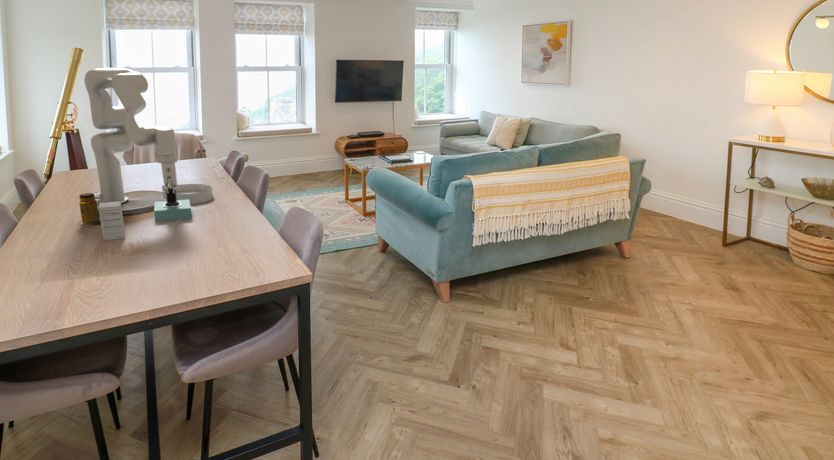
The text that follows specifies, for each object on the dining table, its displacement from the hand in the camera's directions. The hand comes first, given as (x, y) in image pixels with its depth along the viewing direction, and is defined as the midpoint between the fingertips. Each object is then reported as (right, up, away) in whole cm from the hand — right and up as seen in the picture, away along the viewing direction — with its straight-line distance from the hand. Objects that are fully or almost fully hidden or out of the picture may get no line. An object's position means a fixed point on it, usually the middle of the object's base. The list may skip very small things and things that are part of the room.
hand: (171, 200), depth 249 cm
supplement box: (-10, -15, -28) cm, 33 cm away
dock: (0, -6, +2) cm, 6 cm away
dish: (-5, +2, +30) cm, 31 cm away
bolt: (0, -5, +2) cm, 5 cm away
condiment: (-27, -10, -11) cm, 31 cm away
